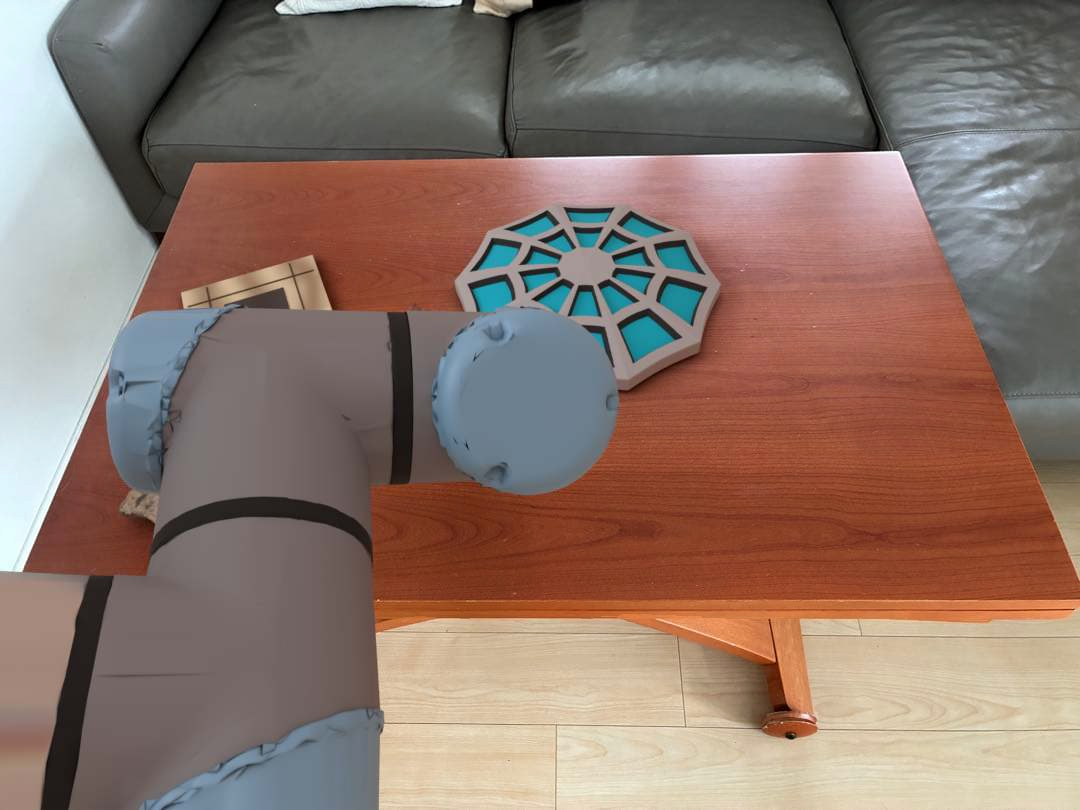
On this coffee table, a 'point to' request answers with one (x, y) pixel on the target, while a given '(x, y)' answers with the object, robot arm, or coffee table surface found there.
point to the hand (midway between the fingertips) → (428, 375)
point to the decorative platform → (600, 281)
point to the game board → (266, 289)
